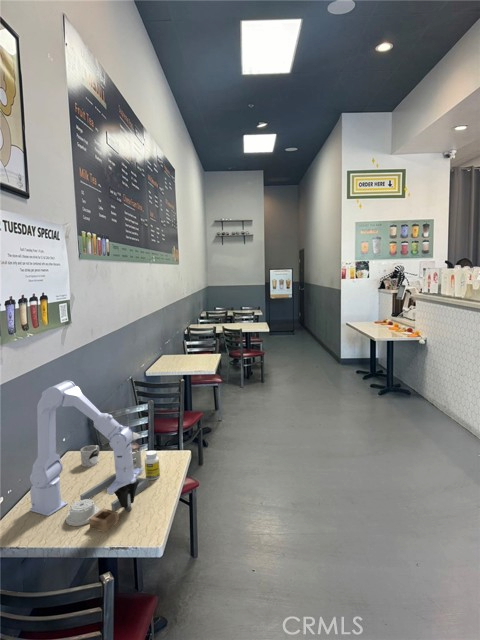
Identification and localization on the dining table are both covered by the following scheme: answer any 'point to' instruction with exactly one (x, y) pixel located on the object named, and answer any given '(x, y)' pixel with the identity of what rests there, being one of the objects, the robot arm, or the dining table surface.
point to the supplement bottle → (152, 465)
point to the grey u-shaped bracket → (107, 482)
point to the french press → (137, 455)
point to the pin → (128, 503)
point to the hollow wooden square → (103, 520)
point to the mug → (89, 455)
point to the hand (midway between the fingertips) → (127, 504)
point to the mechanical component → (81, 512)
